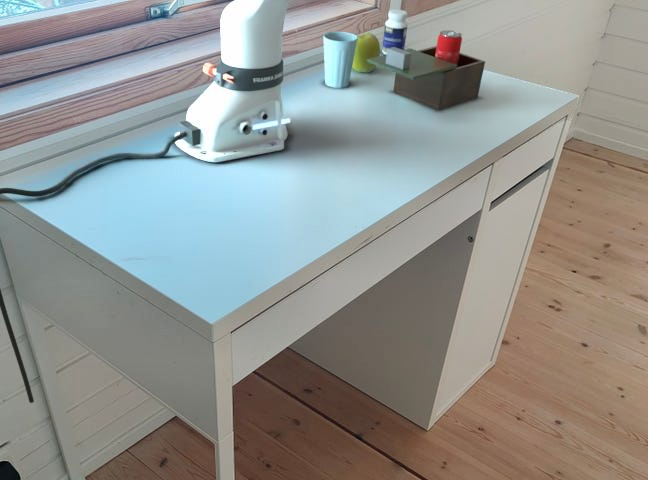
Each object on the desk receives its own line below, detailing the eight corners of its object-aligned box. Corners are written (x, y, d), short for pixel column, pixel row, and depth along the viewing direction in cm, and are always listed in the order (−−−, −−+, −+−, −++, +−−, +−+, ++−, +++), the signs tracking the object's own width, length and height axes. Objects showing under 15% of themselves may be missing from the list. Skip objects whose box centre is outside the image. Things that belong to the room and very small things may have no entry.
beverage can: (428, 91, 155) (438, 35, 147) (430, 84, 158) (439, 29, 151) (451, 94, 154) (462, 38, 146) (452, 87, 158) (463, 31, 150)
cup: (360, 86, 158) (364, 38, 151) (334, 91, 155) (337, 43, 148) (340, 76, 163) (343, 29, 156) (314, 81, 160) (317, 34, 153)
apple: (389, 65, 167) (385, 25, 159) (366, 81, 165) (361, 42, 157) (366, 57, 171) (361, 18, 164) (343, 72, 169) (337, 33, 161)
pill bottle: (379, 54, 177) (384, 13, 170) (384, 48, 181) (389, 7, 174) (401, 57, 175) (407, 15, 169) (405, 51, 179) (411, 10, 173)
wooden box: (438, 110, 148) (444, 72, 143) (393, 92, 156) (397, 55, 151) (477, 97, 155) (485, 61, 150) (432, 80, 163) (438, 45, 158)
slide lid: (413, 80, 138) (416, 61, 136) (366, 61, 146) (368, 44, 143) (456, 67, 145) (460, 50, 142) (409, 51, 153) (412, 33, 150)
